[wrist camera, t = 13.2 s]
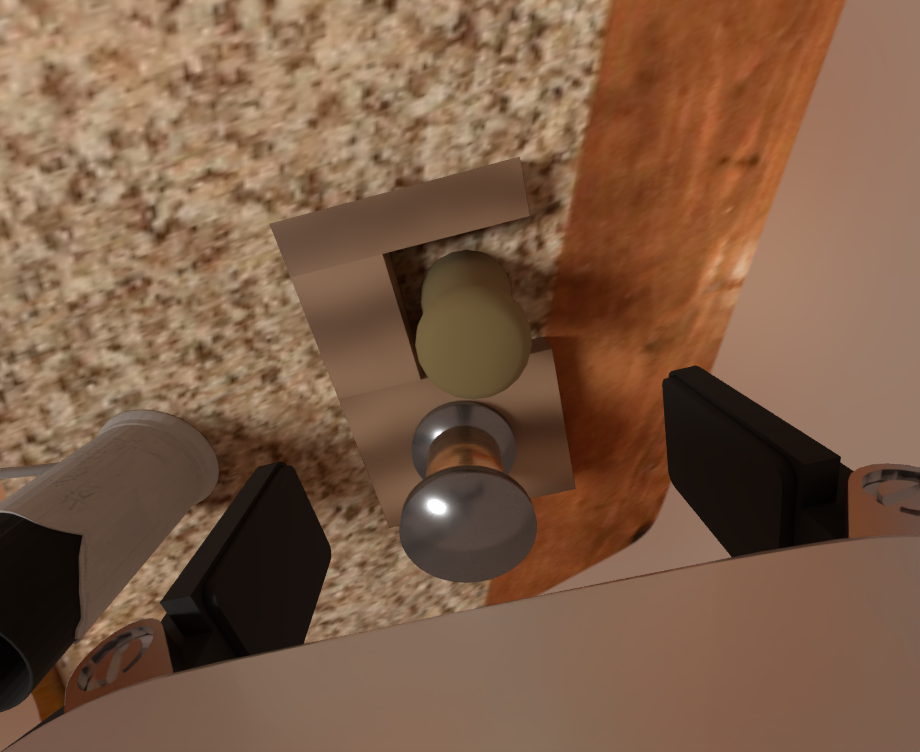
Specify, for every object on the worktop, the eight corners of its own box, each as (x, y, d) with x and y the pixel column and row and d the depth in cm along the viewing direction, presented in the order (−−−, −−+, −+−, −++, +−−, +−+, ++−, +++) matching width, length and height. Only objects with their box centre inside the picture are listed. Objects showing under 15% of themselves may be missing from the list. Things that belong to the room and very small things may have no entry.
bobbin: (522, 476, 30) (547, 568, 23) (427, 497, 31) (420, 593, 23) (503, 389, 28) (523, 461, 20) (399, 413, 28) (381, 491, 21)
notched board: (566, 468, 33) (575, 488, 31) (393, 505, 34) (389, 527, 32) (513, 160, 25) (519, 156, 22) (285, 221, 26) (269, 224, 23)
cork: (526, 267, 27) (572, 308, 17) (494, 352, 29) (517, 435, 19) (434, 237, 26) (425, 261, 16) (409, 327, 28) (386, 399, 18)
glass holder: (207, 521, 34) (44, 740, 20) (14, 466, 32) (-320, 671, 18) (229, 433, 31) (53, 621, 17) (17, 365, 29) (-383, 519, 15)
